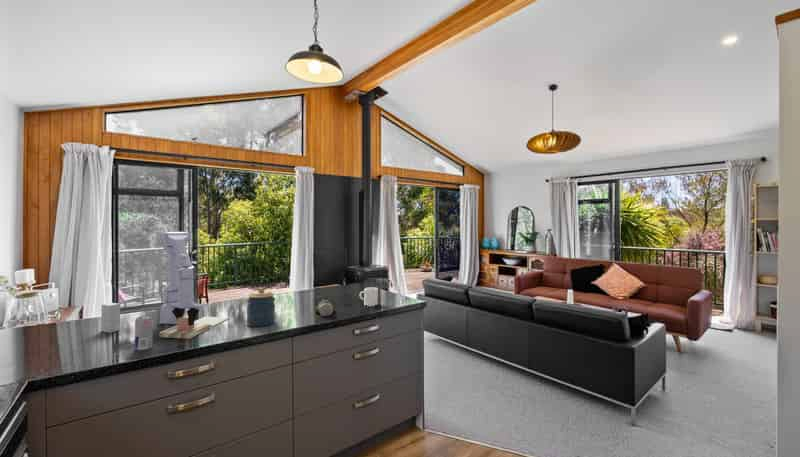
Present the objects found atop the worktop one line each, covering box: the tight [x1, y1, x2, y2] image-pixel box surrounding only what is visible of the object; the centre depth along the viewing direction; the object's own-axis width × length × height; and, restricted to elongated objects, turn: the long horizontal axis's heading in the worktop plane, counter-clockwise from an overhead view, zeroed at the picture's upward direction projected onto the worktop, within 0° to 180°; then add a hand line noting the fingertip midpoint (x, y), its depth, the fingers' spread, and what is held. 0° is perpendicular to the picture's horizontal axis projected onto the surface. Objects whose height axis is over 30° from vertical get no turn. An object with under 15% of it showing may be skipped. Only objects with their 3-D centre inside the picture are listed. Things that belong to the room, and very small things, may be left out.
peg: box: [176, 314, 194, 330], centre depth 151 cm, size 4×4×7 cm
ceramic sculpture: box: [314, 298, 335, 317], centre depth 185 cm, size 11×9×15 cm
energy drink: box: [134, 315, 153, 351], centre depth 132 cm, size 5×5×12 cm
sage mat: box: [194, 316, 230, 327], centre depth 167 cm, size 13×13×1 cm
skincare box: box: [100, 302, 121, 333], centre depth 151 cm, size 6×4×12 cm
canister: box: [246, 287, 276, 328], centre depth 165 cm, size 13×13×18 cm
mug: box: [358, 286, 379, 307], centre depth 204 cm, size 8×12×10 cm
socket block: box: [158, 323, 212, 340], centre depth 151 cm, size 14×14×2 cm
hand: (185, 324), depth 151 cm, fingers closed on peg, 4 cm apart
